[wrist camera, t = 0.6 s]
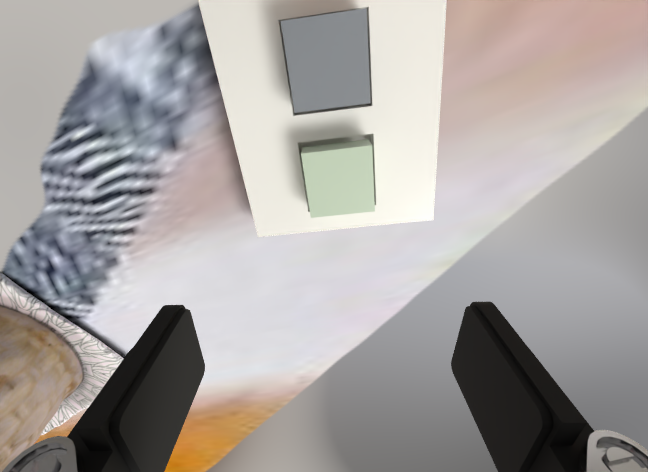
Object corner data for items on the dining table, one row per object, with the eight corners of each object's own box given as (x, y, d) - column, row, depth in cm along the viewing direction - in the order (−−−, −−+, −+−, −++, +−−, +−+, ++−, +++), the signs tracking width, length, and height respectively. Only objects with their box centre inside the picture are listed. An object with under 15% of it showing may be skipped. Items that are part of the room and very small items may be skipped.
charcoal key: (362, 15, 20) (366, 8, 18) (366, 100, 22) (370, 103, 20) (285, 26, 20) (280, 20, 18) (297, 109, 23) (294, 112, 20)
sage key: (368, 139, 24) (372, 145, 21) (371, 200, 26) (374, 211, 24) (303, 146, 24) (301, 153, 22) (312, 206, 26) (310, 217, 24)
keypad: (442, -212, 17) (462, -265, 14) (423, 206, 29) (433, 219, 27) (174, -160, 18) (147, -201, 15) (264, 223, 30) (258, 237, 28)
